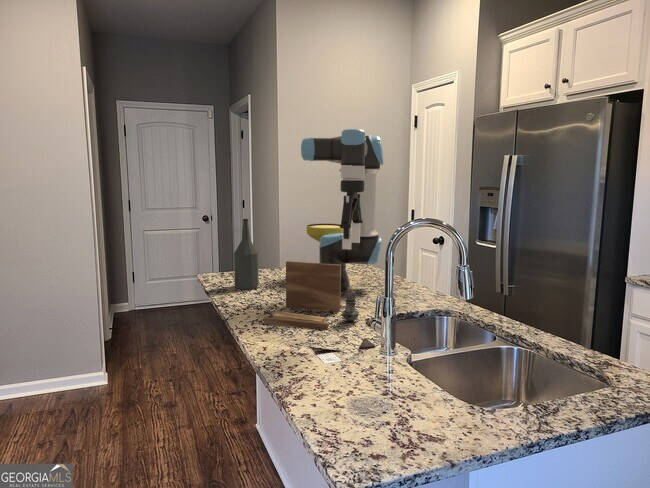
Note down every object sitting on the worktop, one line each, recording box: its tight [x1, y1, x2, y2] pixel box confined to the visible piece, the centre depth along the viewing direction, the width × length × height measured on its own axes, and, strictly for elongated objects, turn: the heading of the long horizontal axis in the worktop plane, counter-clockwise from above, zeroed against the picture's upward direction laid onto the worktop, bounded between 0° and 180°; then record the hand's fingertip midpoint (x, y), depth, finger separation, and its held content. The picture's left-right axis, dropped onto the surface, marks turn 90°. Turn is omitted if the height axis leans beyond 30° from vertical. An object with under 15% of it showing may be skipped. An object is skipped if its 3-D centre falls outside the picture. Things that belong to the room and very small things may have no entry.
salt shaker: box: [340, 287, 360, 325], centre depth 159 cm, size 6×6×12 cm
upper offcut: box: [272, 310, 327, 323], centre depth 159 cm, size 4×17×2 cm, turn 67°
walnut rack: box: [263, 260, 342, 331], centre depth 163 cm, size 21×22×18 cm
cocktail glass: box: [306, 223, 343, 243], centre depth 226 cm, size 18×18×25 cm
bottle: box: [233, 218, 260, 291], centre depth 207 cm, size 10×10×30 cm
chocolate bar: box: [309, 337, 376, 355], centre depth 142 cm, size 9×1×18 cm
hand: (351, 245), depth 156 cm, fingers open, 13 cm apart
